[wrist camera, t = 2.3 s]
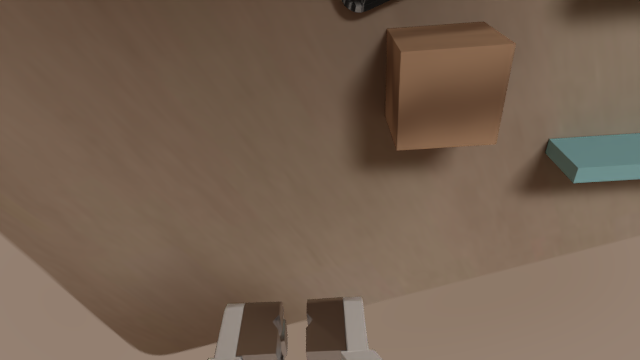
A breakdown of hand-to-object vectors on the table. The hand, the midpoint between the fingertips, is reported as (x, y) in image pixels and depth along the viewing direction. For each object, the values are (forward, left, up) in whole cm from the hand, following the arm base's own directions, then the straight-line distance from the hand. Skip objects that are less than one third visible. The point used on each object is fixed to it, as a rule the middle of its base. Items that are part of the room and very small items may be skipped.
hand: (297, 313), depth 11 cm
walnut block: (0, +8, -19) cm, 21 cm away
